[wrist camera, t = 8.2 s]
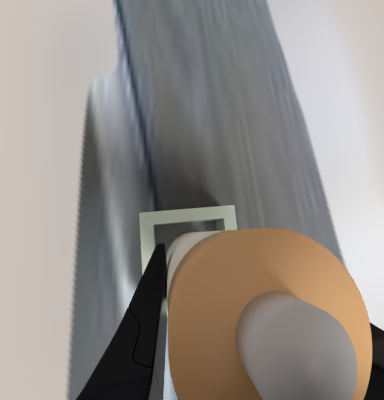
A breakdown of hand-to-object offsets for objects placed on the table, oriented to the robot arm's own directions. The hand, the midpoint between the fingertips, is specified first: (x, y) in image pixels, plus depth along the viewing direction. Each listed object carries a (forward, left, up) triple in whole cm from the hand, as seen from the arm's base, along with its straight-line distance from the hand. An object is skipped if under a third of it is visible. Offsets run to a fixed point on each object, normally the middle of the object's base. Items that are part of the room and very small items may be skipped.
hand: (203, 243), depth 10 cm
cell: (-1, 0, -7) cm, 7 cm away
